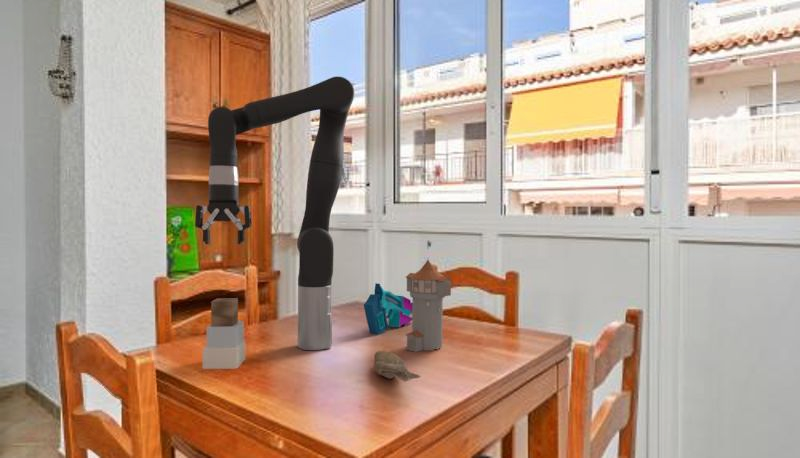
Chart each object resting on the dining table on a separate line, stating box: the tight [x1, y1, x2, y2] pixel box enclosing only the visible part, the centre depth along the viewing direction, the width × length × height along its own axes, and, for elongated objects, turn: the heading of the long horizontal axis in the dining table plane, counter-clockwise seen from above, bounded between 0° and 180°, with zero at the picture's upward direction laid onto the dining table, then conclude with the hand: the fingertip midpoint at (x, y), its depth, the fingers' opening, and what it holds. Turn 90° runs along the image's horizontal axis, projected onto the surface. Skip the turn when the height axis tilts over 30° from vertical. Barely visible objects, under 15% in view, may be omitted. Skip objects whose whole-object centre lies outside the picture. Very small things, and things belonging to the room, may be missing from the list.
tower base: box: [202, 339, 246, 370], centre depth 123 cm, size 8×8×5 cm
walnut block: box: [210, 297, 239, 327], centre depth 122 cm, size 5×5×6 cm
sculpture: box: [373, 350, 422, 382], centre depth 111 cm, size 6×25×5 cm, turn 21°
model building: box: [405, 240, 453, 353], centre depth 140 cm, size 14×12×30 cm
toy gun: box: [363, 283, 413, 336], centre depth 162 cm, size 4×26×15 cm, turn 148°
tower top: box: [206, 320, 245, 348], centre depth 123 cm, size 7×7×5 cm
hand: (223, 244), depth 134 cm, fingers open, 8 cm apart
